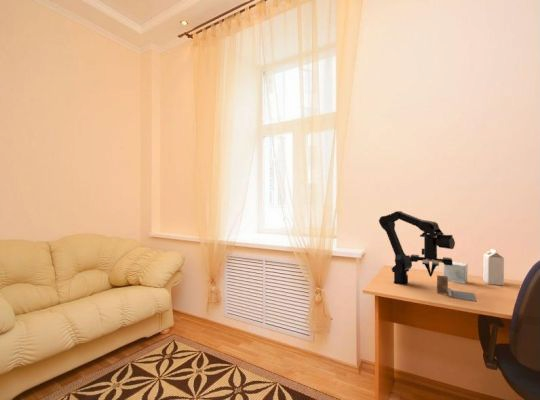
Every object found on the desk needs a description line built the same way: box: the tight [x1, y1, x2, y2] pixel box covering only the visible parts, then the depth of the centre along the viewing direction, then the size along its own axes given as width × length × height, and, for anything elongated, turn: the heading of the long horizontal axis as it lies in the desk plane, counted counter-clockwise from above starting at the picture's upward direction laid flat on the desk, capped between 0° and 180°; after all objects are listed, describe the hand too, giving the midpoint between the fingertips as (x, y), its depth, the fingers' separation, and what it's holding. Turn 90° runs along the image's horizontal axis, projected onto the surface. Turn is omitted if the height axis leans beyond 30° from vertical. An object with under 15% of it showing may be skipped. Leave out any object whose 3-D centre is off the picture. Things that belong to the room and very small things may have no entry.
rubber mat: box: [451, 289, 477, 303], centre depth 137 cm, size 9×12×1 cm
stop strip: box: [448, 287, 453, 299], centre depth 139 cm, size 1×12×1 cm, turn 149°
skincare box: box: [443, 261, 469, 285], centre depth 160 cm, size 10×6×10 cm, turn 42°
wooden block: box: [436, 274, 449, 296], centre depth 141 cm, size 4×4×8 cm
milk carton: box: [482, 248, 505, 286], centre depth 156 cm, size 7×7×19 cm
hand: (430, 276), depth 144 cm, fingers closed
